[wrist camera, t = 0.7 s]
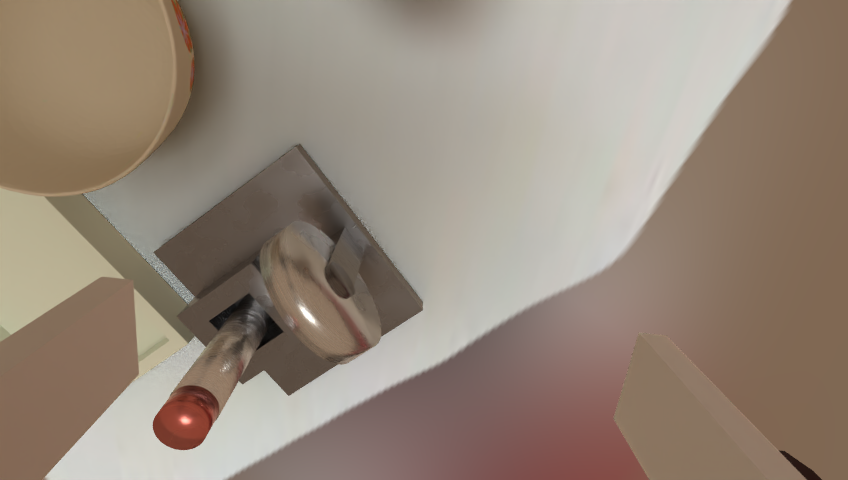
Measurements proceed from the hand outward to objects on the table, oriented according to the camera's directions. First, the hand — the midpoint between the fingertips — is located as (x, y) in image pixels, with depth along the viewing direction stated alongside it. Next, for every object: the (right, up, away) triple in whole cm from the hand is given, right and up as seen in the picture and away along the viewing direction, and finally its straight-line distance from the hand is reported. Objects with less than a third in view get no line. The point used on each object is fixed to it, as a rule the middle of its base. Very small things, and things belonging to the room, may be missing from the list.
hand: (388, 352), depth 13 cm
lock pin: (-12, -2, +26) cm, 29 cm away
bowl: (-20, +16, +22) cm, 34 cm away
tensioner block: (-10, 0, +27) cm, 29 cm away
